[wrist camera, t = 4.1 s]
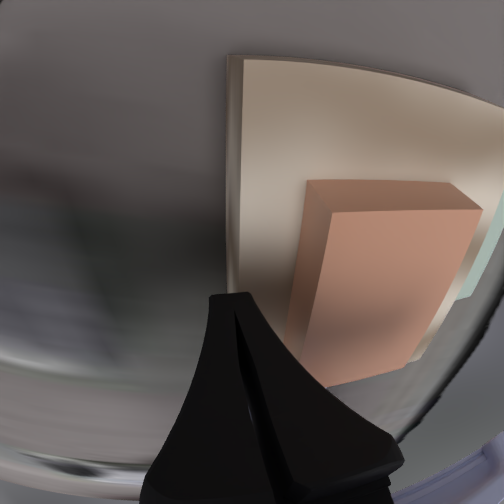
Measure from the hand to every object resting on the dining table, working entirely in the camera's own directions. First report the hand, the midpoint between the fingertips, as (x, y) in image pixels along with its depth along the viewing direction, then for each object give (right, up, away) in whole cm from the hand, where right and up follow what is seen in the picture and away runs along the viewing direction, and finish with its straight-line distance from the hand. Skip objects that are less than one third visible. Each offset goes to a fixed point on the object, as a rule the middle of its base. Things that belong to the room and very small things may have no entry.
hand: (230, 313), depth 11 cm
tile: (+5, +1, +2) cm, 5 cm away
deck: (+5, +3, +5) cm, 8 cm away
